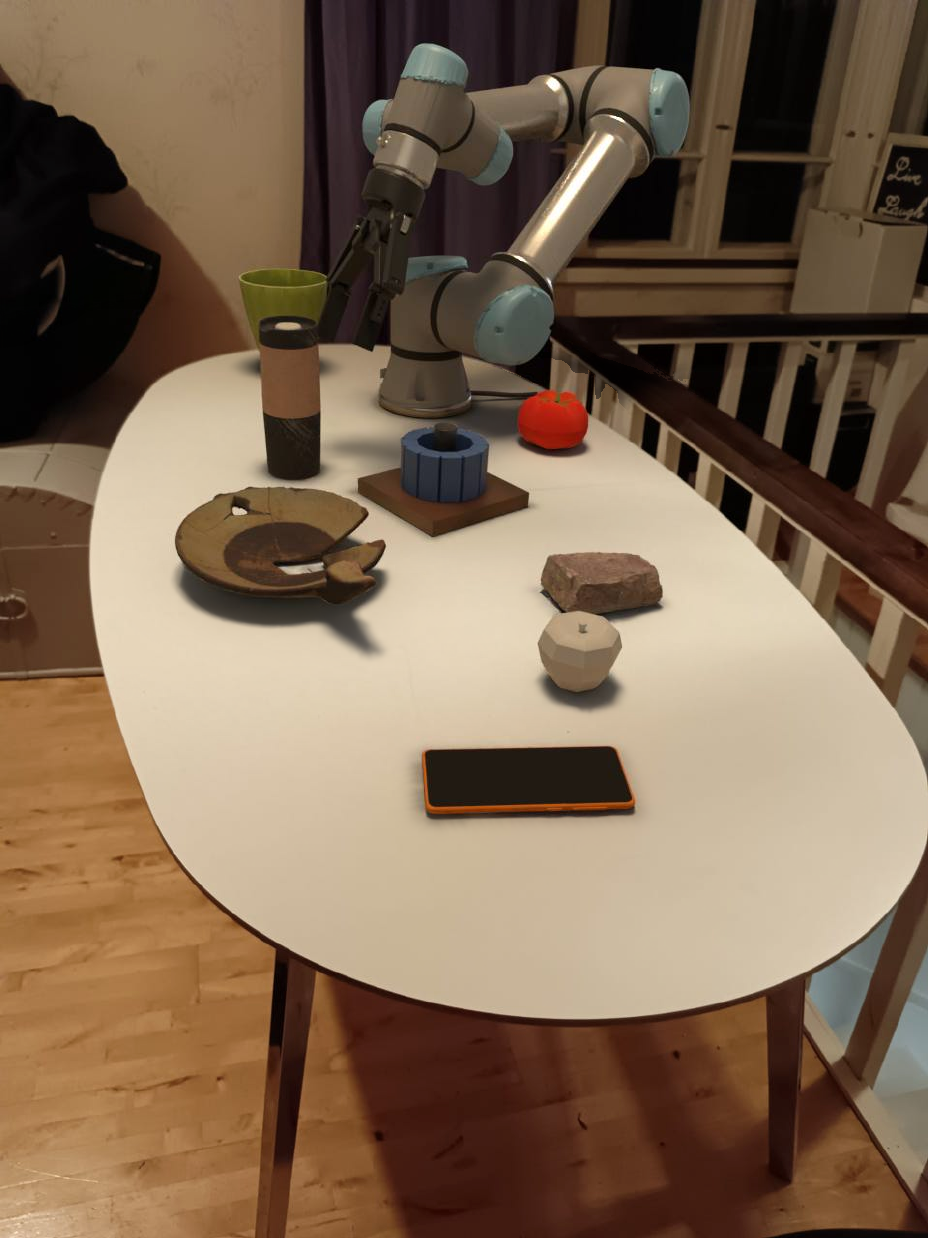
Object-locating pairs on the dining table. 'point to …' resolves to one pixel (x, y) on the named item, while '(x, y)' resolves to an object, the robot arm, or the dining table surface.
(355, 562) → the brown shallow round piece
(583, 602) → the stone
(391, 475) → the platform
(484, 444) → the ring
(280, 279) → the flower pot
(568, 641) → the apple
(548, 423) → the tomato
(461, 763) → the smartphone
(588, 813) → the dining table surface
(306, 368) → the travel mug
